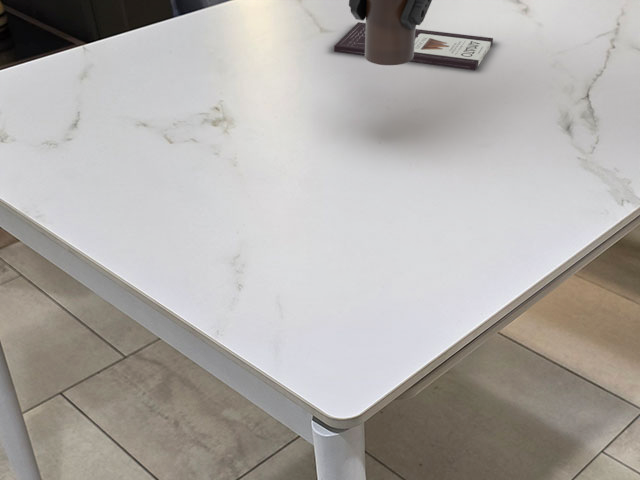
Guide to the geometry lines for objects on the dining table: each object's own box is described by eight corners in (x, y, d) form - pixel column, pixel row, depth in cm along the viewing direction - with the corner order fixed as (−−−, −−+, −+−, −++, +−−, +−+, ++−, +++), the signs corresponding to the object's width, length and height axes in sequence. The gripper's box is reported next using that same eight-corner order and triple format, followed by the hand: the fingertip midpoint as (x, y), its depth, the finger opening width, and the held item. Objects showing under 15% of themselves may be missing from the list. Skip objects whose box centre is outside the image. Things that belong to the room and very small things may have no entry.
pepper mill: (413, 47, 86) (420, -57, 80) (414, 65, 82) (421, -42, 76) (365, 47, 87) (368, -56, 81) (364, 65, 83) (367, -41, 77)
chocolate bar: (358, 22, 114) (493, 38, 108) (358, 29, 115) (492, 45, 108) (334, 45, 108) (476, 64, 101) (334, 53, 109) (475, 71, 102)
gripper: (373, -175, 81) (302, -11, 81) (516, -166, 74) (438, 14, 74) (397, -125, 88) (332, 27, 88) (531, -113, 80) (460, 53, 80)
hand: (381, 20), depth 81 cm, fingers closed on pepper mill, 5 cm apart
